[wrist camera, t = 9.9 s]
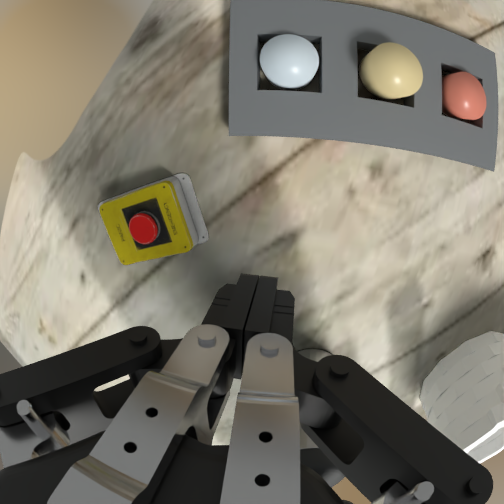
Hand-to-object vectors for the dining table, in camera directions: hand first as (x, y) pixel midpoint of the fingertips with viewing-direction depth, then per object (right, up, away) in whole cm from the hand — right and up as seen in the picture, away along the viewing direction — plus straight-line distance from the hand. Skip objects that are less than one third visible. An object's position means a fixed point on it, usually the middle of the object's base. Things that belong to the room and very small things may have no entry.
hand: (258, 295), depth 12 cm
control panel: (+14, +21, +13) cm, 28 cm away
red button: (+24, +20, +12) cm, 33 cm away
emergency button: (-14, +6, +24) cm, 29 cm away
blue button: (+4, +22, +14) cm, 26 cm away
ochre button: (+13, +20, +11) cm, 27 cm away
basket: (+44, -23, +30) cm, 58 cm away
